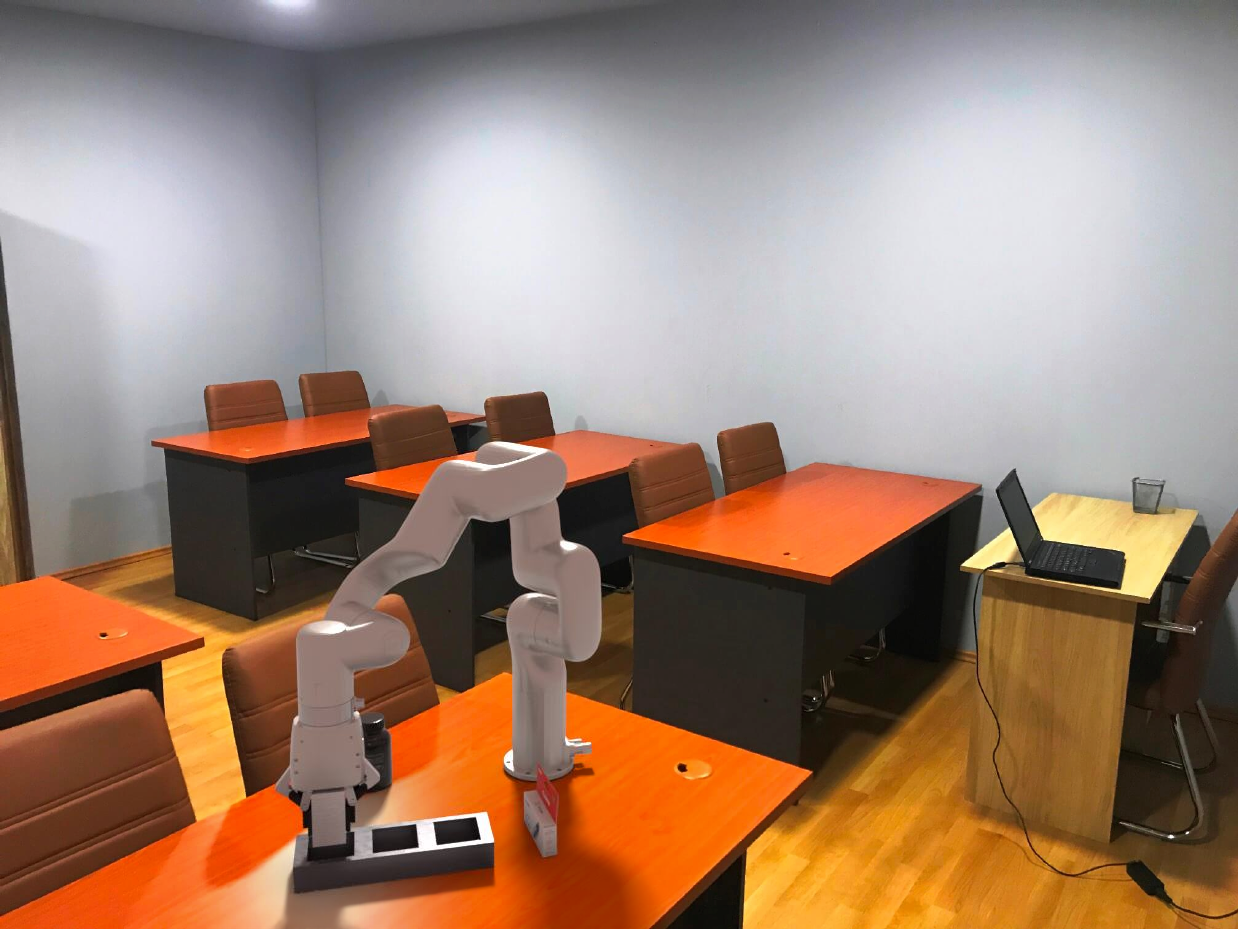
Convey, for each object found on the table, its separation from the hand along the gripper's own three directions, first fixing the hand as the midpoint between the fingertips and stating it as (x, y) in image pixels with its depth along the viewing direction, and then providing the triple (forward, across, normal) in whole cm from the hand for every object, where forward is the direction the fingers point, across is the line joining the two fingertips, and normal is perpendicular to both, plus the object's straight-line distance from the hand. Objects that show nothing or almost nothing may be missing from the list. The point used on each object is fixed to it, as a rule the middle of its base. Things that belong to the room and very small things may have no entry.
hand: (329, 828), depth 137 cm
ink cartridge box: (+7, -31, -2) cm, 32 cm away
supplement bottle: (+7, -6, -25) cm, 27 cm away
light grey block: (+1, 0, 0) cm, 1 cm away
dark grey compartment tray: (+7, -9, 0) cm, 11 cm away
